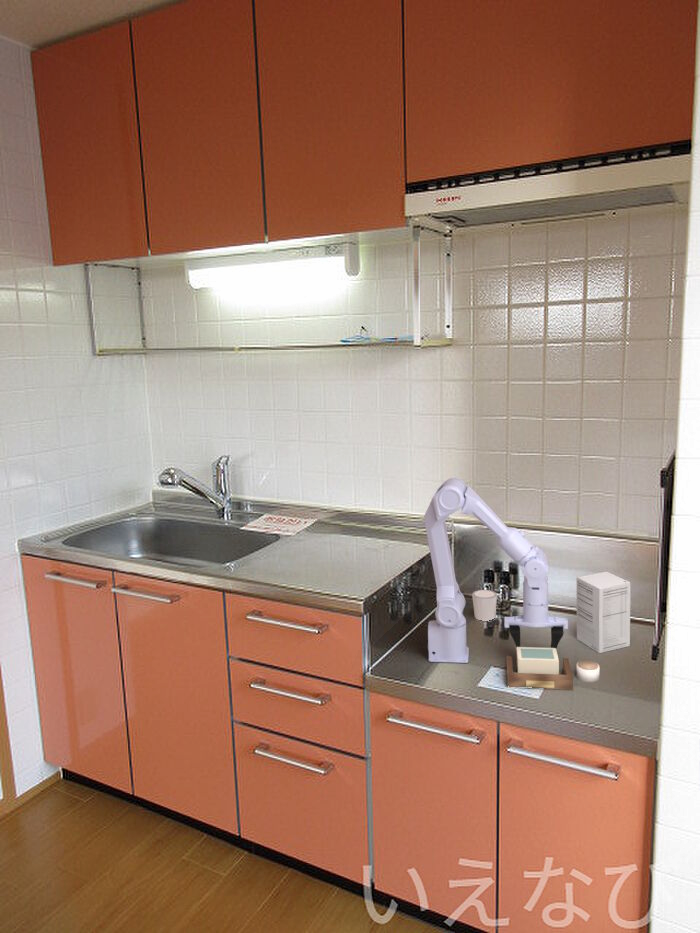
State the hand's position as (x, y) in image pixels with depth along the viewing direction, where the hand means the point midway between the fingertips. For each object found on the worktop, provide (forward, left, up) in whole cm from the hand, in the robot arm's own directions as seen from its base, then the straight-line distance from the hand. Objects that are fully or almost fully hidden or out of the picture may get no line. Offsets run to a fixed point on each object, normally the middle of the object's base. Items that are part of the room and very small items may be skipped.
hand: (535, 655), depth 165 cm
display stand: (0, -9, -2) cm, 9 cm away
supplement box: (+17, +11, -2) cm, 21 cm away
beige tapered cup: (-12, +25, -2) cm, 28 cm away
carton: (0, -5, -2) cm, 5 cm away
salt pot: (+11, -7, -2) cm, 13 cm away
